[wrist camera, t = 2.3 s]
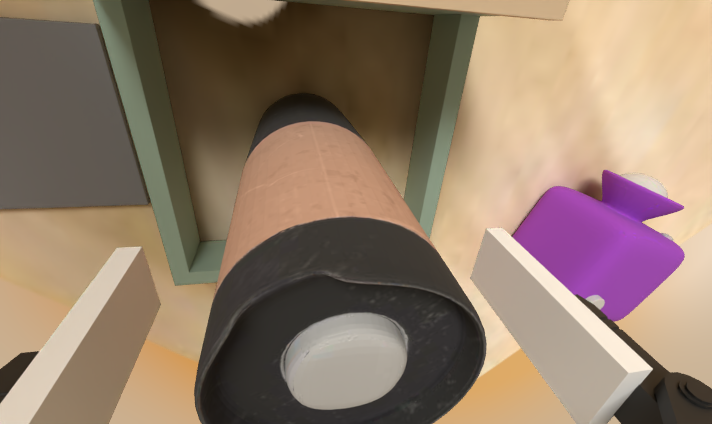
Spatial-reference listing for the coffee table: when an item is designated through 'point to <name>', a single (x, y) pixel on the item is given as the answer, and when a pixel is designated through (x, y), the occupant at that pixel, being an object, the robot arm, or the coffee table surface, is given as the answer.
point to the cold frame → (447, 3)
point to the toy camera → (604, 241)
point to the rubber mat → (62, 120)
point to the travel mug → (330, 290)
